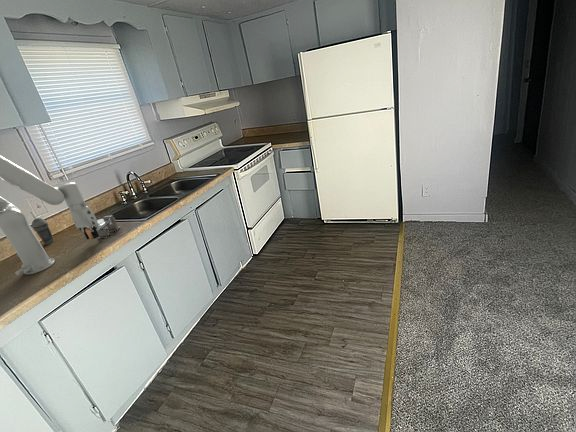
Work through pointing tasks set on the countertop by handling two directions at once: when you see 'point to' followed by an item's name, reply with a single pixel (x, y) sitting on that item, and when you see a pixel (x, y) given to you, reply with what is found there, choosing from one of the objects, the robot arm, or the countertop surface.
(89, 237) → the hook rod
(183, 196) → the countertop surface
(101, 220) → the ramekin
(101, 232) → the cradle
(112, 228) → the eye post
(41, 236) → the beverage cup
